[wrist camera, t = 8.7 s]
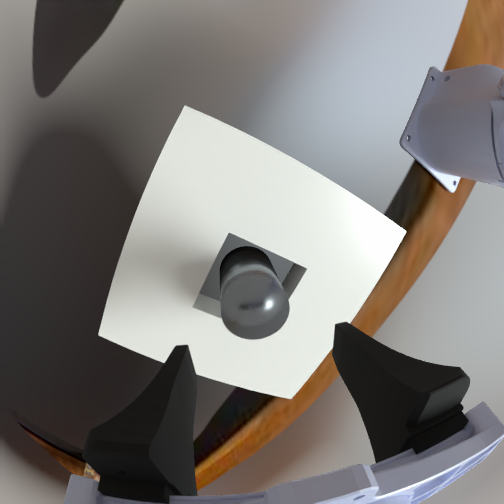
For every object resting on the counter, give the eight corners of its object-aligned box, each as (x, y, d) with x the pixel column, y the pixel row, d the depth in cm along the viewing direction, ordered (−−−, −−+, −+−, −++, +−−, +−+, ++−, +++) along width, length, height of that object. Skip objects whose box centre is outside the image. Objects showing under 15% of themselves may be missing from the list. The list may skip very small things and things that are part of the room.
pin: (216, 249, 21) (216, 285, 15) (270, 243, 21) (289, 276, 16) (223, 296, 22) (225, 343, 17) (272, 291, 23) (289, 334, 17)
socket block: (189, 111, 17) (184, 105, 15) (389, 223, 22) (406, 231, 19) (107, 318, 22) (98, 334, 20) (285, 381, 26) (290, 399, 24)
